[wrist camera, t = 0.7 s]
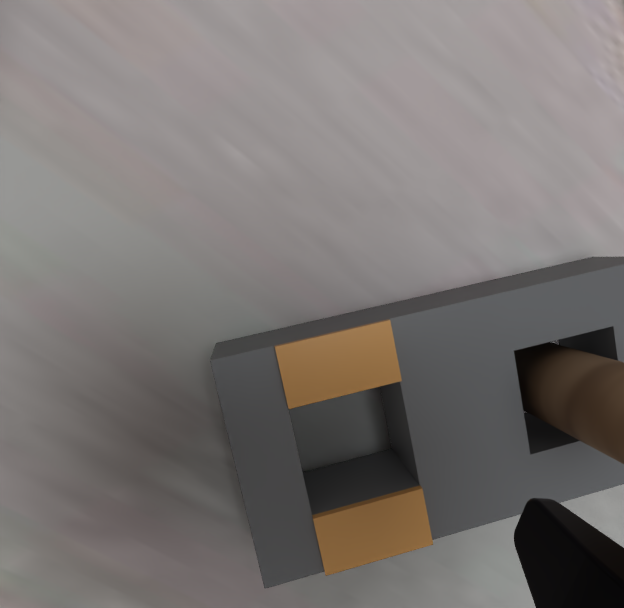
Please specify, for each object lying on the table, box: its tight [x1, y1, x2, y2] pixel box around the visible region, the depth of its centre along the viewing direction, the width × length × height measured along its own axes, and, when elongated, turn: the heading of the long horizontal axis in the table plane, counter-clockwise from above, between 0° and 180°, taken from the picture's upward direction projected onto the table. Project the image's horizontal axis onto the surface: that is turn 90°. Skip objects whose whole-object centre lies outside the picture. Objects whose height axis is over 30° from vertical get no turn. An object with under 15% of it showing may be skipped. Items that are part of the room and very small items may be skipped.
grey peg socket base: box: [210, 257, 624, 588], centre depth 22 cm, size 20×10×4 cm, turn 102°
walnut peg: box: [514, 342, 624, 464], centre depth 19 cm, size 4×4×13 cm
